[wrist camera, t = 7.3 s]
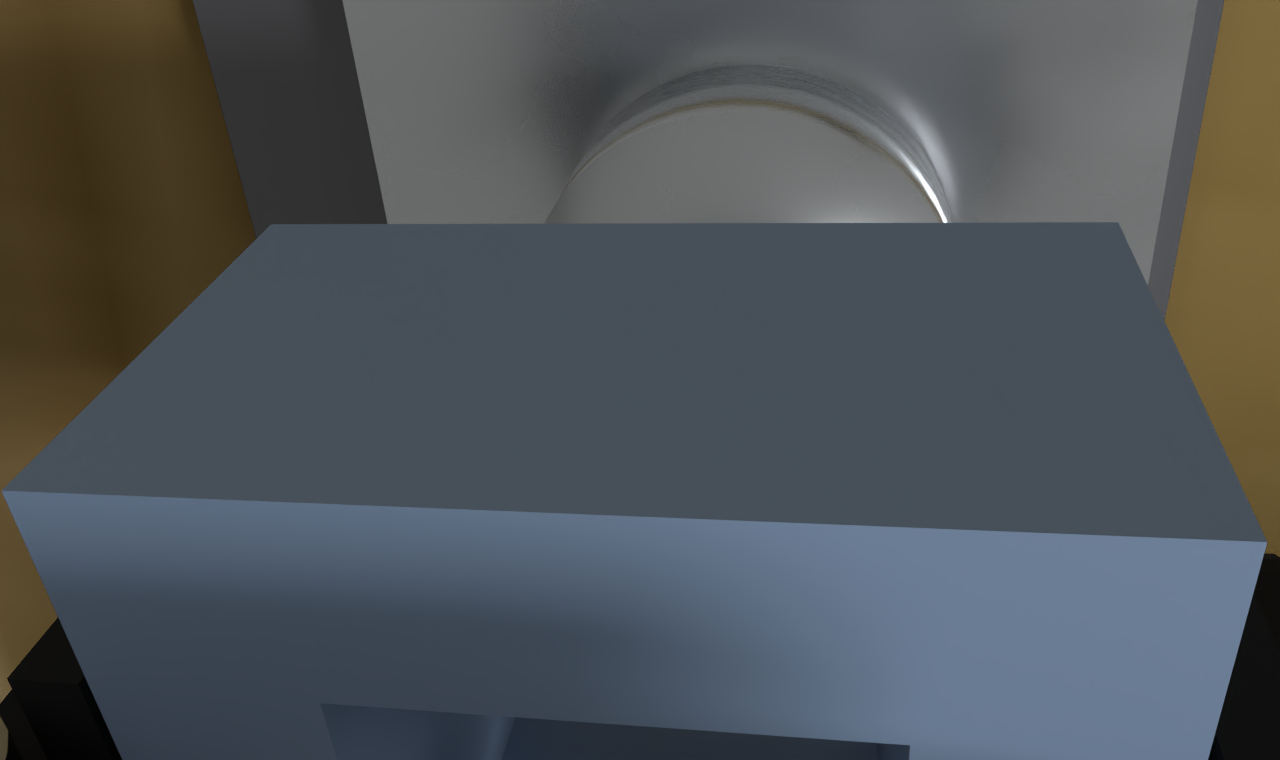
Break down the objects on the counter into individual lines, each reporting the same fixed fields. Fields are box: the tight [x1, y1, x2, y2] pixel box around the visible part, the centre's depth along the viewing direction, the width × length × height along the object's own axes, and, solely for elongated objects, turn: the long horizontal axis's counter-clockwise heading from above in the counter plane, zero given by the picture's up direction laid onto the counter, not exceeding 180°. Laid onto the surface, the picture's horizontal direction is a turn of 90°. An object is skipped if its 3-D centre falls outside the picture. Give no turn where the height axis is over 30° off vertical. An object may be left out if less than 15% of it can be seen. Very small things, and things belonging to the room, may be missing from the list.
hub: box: [342, 0, 1198, 285], centre depth 14 cm, size 10×10×6 cm
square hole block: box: [2, 222, 1267, 760], centre depth 9 cm, size 6×6×4 cm
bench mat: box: [193, 0, 1224, 320], centre depth 22 cm, size 13×36×1 cm, turn 4°
